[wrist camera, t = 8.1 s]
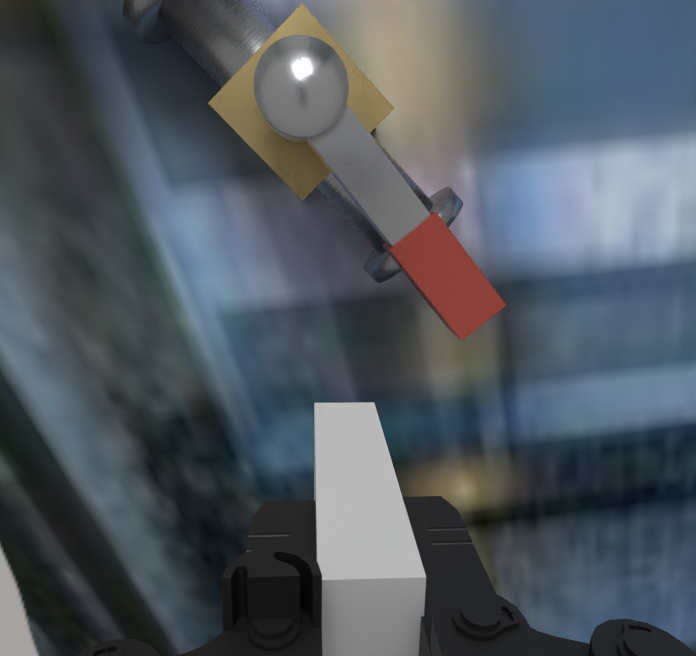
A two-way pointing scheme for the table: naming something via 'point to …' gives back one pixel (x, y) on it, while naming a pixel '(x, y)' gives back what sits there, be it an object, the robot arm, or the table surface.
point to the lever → (370, 177)
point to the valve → (242, 109)
